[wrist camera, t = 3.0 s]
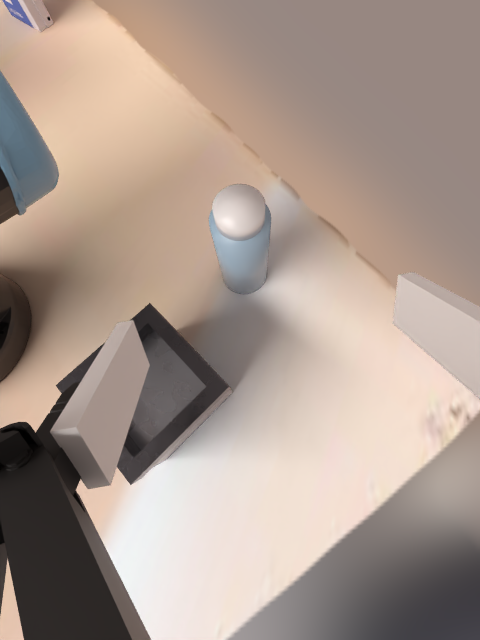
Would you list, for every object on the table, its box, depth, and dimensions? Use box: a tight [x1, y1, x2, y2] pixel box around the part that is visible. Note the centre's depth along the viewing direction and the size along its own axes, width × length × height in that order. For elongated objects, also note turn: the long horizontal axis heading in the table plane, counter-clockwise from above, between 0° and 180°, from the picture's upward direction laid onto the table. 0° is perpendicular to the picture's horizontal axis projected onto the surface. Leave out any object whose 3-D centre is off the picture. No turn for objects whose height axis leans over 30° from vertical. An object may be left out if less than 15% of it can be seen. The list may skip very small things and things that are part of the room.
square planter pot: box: [56, 303, 233, 485], centre depth 26 cm, size 9×9×8 cm
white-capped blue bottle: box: [209, 184, 271, 294], centre depth 27 cm, size 5×5×12 cm
